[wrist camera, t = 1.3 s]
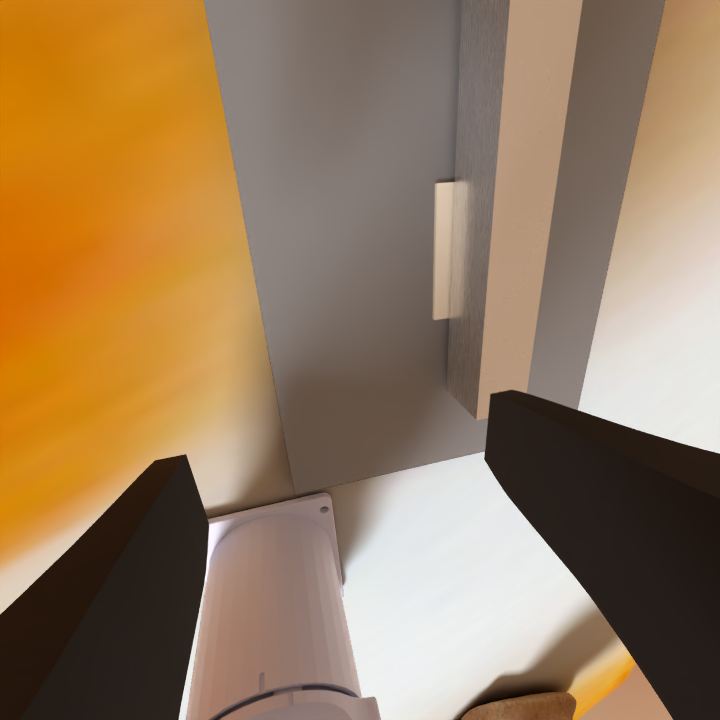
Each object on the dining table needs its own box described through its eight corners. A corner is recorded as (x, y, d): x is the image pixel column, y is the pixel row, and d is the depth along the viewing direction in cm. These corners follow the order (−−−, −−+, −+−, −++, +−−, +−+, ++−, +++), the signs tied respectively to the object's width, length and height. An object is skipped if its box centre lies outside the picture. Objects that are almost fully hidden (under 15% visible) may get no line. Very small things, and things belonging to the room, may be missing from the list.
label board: (561, 422, 24) (575, 432, 23) (293, 482, 21) (295, 497, 20) (660, -80, 14) (691, -103, 13) (181, -129, 11) (172, -166, 10)
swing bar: (458, -111, 12) (517, -207, 9) (539, -103, 12) (617, -190, 9) (442, 391, 19) (471, 421, 16) (492, 381, 20) (528, 409, 17)
